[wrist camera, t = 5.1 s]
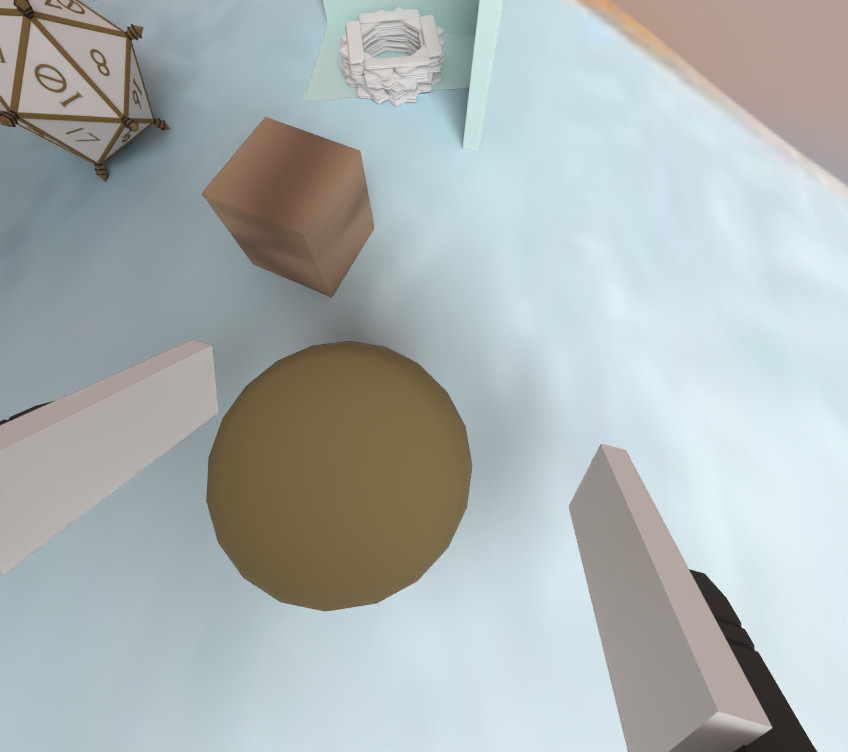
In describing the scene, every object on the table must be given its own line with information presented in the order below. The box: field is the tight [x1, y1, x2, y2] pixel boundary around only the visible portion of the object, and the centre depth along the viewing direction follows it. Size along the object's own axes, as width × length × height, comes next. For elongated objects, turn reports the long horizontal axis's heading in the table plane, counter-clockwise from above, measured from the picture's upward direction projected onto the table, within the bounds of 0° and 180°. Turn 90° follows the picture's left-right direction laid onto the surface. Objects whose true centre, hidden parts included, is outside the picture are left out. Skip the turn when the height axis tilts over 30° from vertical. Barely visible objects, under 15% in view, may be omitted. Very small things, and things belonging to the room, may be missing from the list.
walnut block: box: [202, 117, 374, 297], centre depth 18 cm, size 5×5×5 cm
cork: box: [207, 341, 472, 611], centre depth 11 cm, size 6×6×11 cm
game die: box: [0, 0, 170, 181], centre depth 19 cm, size 9×8×10 cm
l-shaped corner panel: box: [303, 0, 504, 150], centre depth 21 cm, size 12×12×8 cm
